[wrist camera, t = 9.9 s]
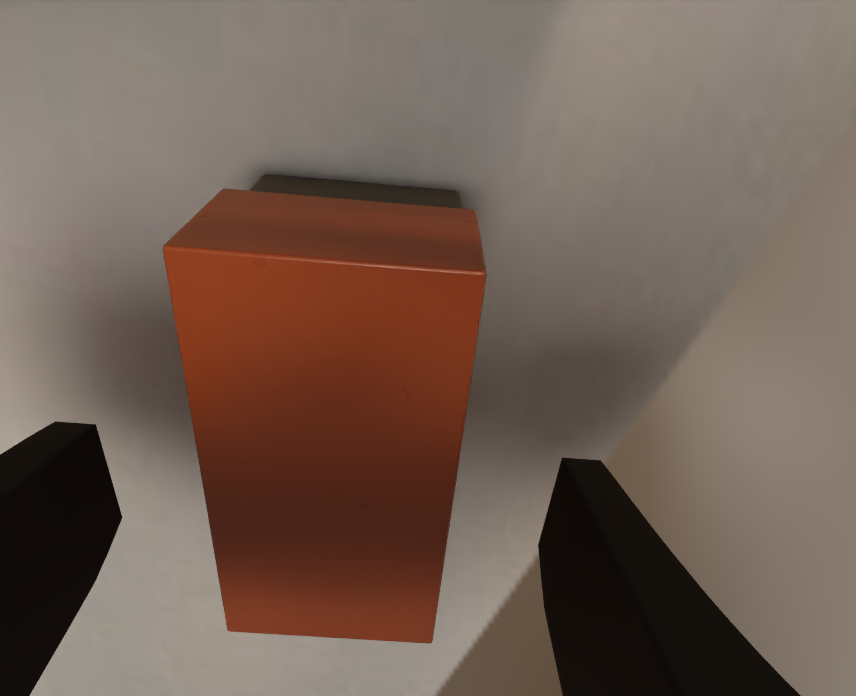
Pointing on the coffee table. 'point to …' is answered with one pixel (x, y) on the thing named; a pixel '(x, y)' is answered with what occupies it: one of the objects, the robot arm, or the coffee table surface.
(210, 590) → the coffee table surface
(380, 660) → the coffee table surface
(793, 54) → the coffee table surface
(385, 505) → the orange block
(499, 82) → the coffee table surface
